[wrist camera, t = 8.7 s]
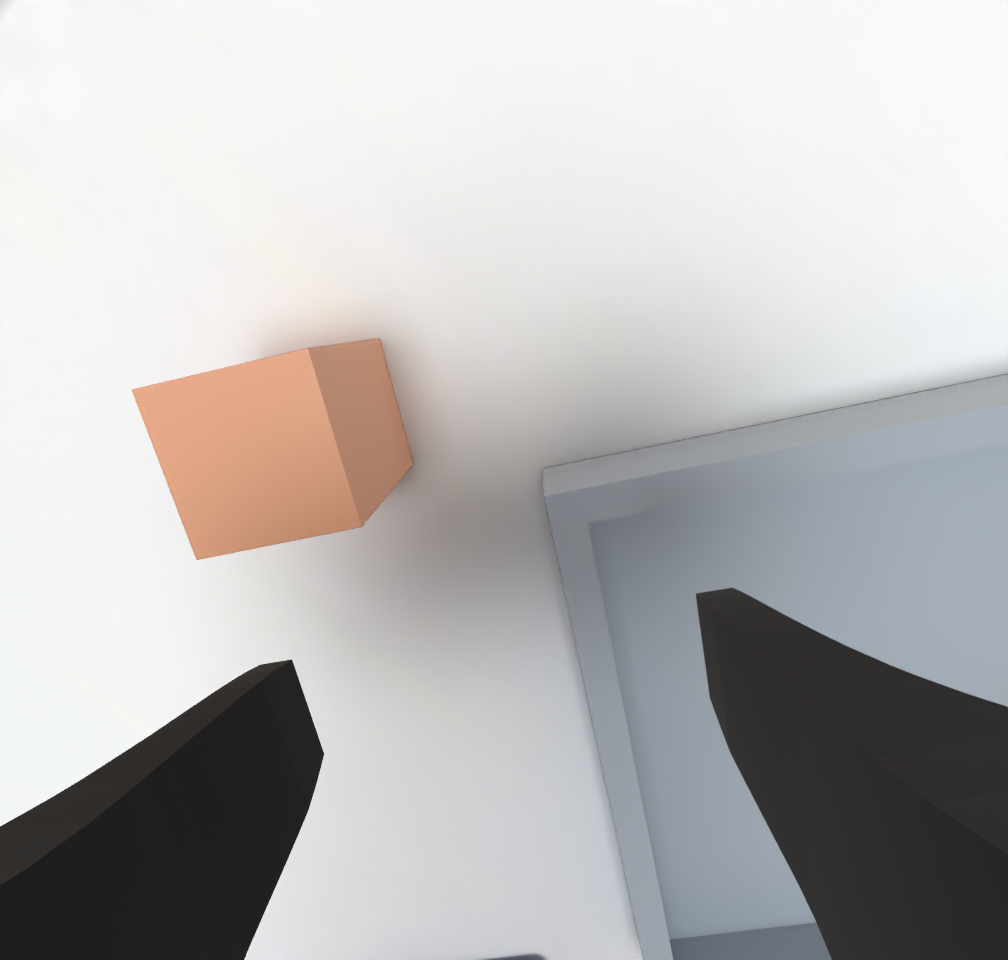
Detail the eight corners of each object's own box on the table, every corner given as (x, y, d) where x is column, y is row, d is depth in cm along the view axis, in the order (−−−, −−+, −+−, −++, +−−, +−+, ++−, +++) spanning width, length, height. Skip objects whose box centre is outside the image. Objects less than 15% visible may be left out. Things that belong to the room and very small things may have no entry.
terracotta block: (413, 463, 19) (361, 527, 13) (296, 487, 19) (196, 560, 14) (379, 338, 18) (307, 348, 12) (257, 367, 18) (131, 389, 13)
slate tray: (1187, 877, 22) (1287, 963, 19) (642, 941, 24) (657, 1027, 21) (1236, 327, 17) (1383, 329, 14) (542, 468, 19) (543, 496, 16)
